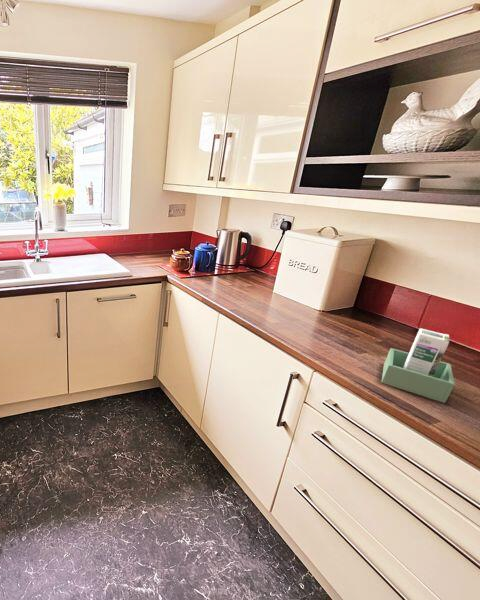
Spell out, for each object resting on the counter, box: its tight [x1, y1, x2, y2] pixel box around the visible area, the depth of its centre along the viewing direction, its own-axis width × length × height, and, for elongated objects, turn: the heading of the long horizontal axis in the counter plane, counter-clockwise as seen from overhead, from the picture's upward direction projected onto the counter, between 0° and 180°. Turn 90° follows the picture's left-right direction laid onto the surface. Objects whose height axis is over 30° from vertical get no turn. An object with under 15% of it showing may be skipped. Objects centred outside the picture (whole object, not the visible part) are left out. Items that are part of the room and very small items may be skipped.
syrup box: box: [403, 328, 450, 377], centre depth 91 cm, size 6×6×14 cm
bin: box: [381, 347, 455, 404], centre depth 93 cm, size 13×13×6 cm
